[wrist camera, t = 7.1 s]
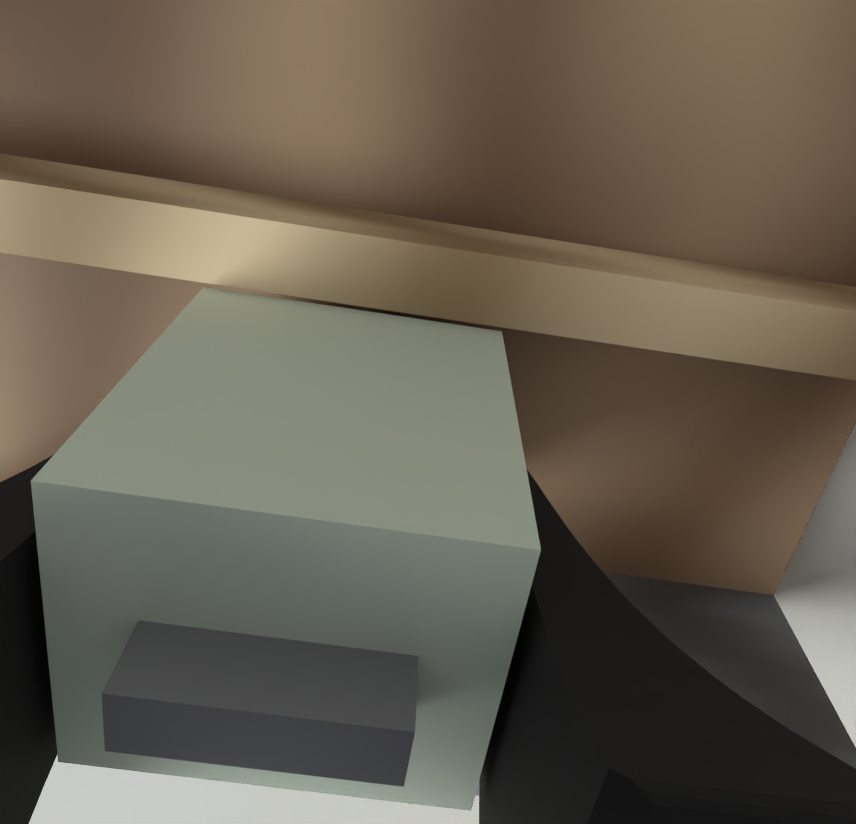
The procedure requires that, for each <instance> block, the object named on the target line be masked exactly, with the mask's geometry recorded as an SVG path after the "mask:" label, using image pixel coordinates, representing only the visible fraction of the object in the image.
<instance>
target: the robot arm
mask: <svg viewBox="0 0 856 824" xmlns="http://www.w3.org/2000/svg"><path fill="white" fill-rule="evenodd" d="M52 456H53V455H52ZM52 456H50V457H49V458H47V459H45V460H43V461H41V462H39V463H38V464H36V465H34V466H32V467H30V468H28V469H26V470H24V471H22V472H20V473H18V474H16V475H14V476H12V477H10V478H8V479H6V480H4V481H2V482H0V824H29V821H30V819H31V816H32V814H33V811H34V809H35V806H36V804H37V801H38V799H39V796H40V794H41V791H42V789H43V786H44V784H45V782H46V779H47V777H48V775H49V772H50V770H51V768H52V765H53V763H54V761H55V758H56V756H57V744H56V734H55V723H54V713H53V703H52V693H51V683H50V672H49V662H48V652H47V642H46V632H45V621H44V611H43V601H42V591H41V581H40V570H39V560H38V550H37V540H36V530H35V520H34V509H33V499H32V489H31V480H32V479H33V478H34V477H35V475H36V474H37V473H38V472H39V471H40V470H41V469H42V468H43V466H44V465H45V464H46V463H47V462H48V461H49V460H50V459H51V457H52ZM527 474H528V480H529V485H530V491H531V497H532V502H533V508H534V513H535V519H536V525H537V530H538V536H539V541H540V547H541V552H540V556H539V559H538V563H537V567H536V571H535V574H534V578H533V582H532V585H531V589H530V593H529V597H528V600H527V604H526V608H525V611H524V615H523V619H522V623H521V626H520V630H519V634H518V637H517V641H516V645H515V649H514V652H513V656H512V660H511V663H510V667H509V671H508V675H507V678H506V682H505V686H504V689H503V693H502V697H501V701H500V704H499V708H498V712H497V715H496V719H495V723H494V727H493V730H492V734H491V738H490V741H489V745H488V749H487V753H486V756H485V760H484V764H483V767H482V771H481V775H480V779H479V824H856V769H855V768H854V767H852V766H850V765H849V764H847V763H845V762H844V761H842V760H840V759H838V758H837V757H835V756H833V755H832V754H830V753H828V752H827V751H825V750H823V749H822V748H820V747H818V746H817V745H815V744H813V743H812V742H810V741H808V740H806V739H805V738H803V737H801V736H800V735H798V734H796V733H795V732H793V731H791V730H790V729H788V728H787V727H785V726H784V725H782V724H780V723H779V722H777V721H776V720H775V719H773V718H772V717H770V716H769V715H767V714H766V713H764V712H763V711H761V710H760V709H758V708H757V707H756V706H754V705H753V704H751V703H750V702H748V701H747V700H745V699H744V698H742V697H741V696H740V695H738V694H737V693H736V692H734V691H733V690H731V689H730V688H729V687H727V686H726V685H725V684H723V683H722V682H721V681H719V680H718V679H717V678H715V677H714V676H713V675H712V674H710V673H709V672H708V671H707V670H705V669H704V668H703V667H702V666H700V665H699V664H698V663H697V662H696V661H694V660H693V659H692V658H691V657H689V656H688V655H687V654H686V653H684V652H683V651H682V650H681V649H680V648H678V647H677V646H676V645H675V644H674V643H673V642H672V641H670V640H669V639H668V638H667V637H666V636H665V635H664V634H663V633H661V632H660V631H659V630H658V629H657V628H656V627H655V626H654V625H653V624H652V623H651V622H650V621H649V620H648V619H647V618H646V617H645V616H644V615H643V614H642V613H641V612H640V611H639V610H638V609H637V608H636V607H634V606H633V605H632V604H631V602H630V601H629V600H628V599H627V598H626V597H625V596H624V595H623V594H622V593H621V592H620V591H619V590H618V589H617V588H616V586H615V585H614V584H613V583H612V582H611V581H610V580H609V578H608V577H607V576H606V575H605V574H604V573H603V572H602V570H601V569H600V568H599V567H598V566H597V565H596V563H595V562H594V561H593V560H592V559H591V557H590V556H589V555H588V554H587V552H586V551H585V550H584V549H583V547H582V546H581V545H580V543H579V542H578V541H577V539H576V538H575V537H574V535H573V534H572V533H571V531H570V530H569V529H568V527H567V526H566V525H565V523H564V522H563V520H562V519H561V517H560V516H559V515H558V513H557V512H556V510H555V509H554V507H553V506H552V505H551V503H550V502H549V500H548V499H547V497H546V496H545V494H544V493H543V491H542V490H541V488H540V487H539V485H538V484H537V482H536V481H535V480H534V478H533V477H532V475H531V474H530V472H529V471H528V470H527Z"/></svg>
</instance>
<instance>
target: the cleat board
mask: <svg viewBox="0 0 856 824" xmlns="http://www.w3.org/2000/svg"><path fill="white" fill-rule="evenodd" d="M203 287H209V288H216V289H222V290H229V291H236V292H242V293H249V294H256V295H262V296H269V297H276V298H283V299H289V300H296V301H303V302H309V303H316V304H323V305H329V306H336V307H343V308H349V309H356V310H363V311H369V312H376V313H383V314H389V315H396V316H403V317H410V318H416V319H423V320H430V321H436V322H443V323H450V324H456V325H463V326H470V327H476V328H483V329H490V330H496V331H502V334H503V340H504V345H505V351H506V357H507V362H508V368H509V373H510V379H511V385H512V390H513V396H514V401H515V407H516V413H517V418H518V424H519V429H520V435H521V441H522V446H523V452H524V457H525V463H526V469H527V470H528V471H529V472H530V474H531V475H532V477H533V478H534V480H535V481H536V482H537V484H538V485H539V487H540V488H541V490H542V491H543V493H544V494H545V496H546V497H547V499H548V500H549V502H550V503H551V505H552V506H553V507H554V509H555V510H556V512H557V513H558V515H559V516H560V517H561V519H562V520H563V522H564V523H565V525H566V526H567V527H568V529H569V530H570V531H571V533H572V534H573V535H574V537H575V538H576V539H577V541H578V542H579V543H580V545H581V546H582V547H583V549H584V550H585V551H586V552H587V554H588V555H589V556H590V557H591V559H592V560H593V561H594V562H595V563H596V565H597V566H598V567H599V568H600V569H601V570H602V572H603V573H604V574H605V575H606V576H607V577H608V578H609V580H610V581H611V582H612V583H613V584H614V585H615V586H616V588H617V589H618V590H619V591H620V592H621V593H622V594H623V595H624V596H625V597H626V598H627V599H628V600H629V601H630V602H631V604H632V605H633V606H634V607H636V608H637V609H638V610H639V611H640V612H641V613H642V614H643V615H644V616H645V617H646V618H647V619H648V620H649V621H650V622H651V623H652V624H653V625H654V626H655V627H656V628H657V629H658V630H659V631H660V632H661V633H663V634H664V635H665V636H666V637H667V638H668V639H669V640H670V641H672V642H673V643H674V644H675V645H676V646H677V647H678V648H680V649H681V650H682V651H683V652H684V653H686V654H687V655H688V656H689V657H691V658H692V659H693V660H694V661H696V662H697V663H698V664H699V665H700V666H702V667H703V668H704V669H705V670H707V671H708V672H709V673H710V674H712V675H713V676H714V677H715V678H717V679H718V680H719V681H721V682H722V683H723V684H725V685H726V686H727V687H729V688H730V689H731V690H733V691H734V692H736V693H737V694H738V695H740V696H741V697H742V698H744V699H745V700H747V701H748V702H750V703H751V704H753V705H754V706H756V707H757V708H758V709H760V710H761V711H763V712H764V713H766V714H767V715H769V716H770V717H772V718H773V719H775V720H776V721H777V722H779V723H780V724H782V725H784V726H785V727H787V728H788V729H790V730H791V731H793V732H795V733H796V734H798V735H800V736H801V737H803V738H805V739H806V740H808V741H810V742H812V743H813V744H815V745H817V746H818V747H820V748H822V749H823V750H825V751H827V752H828V753H830V754H832V755H833V756H835V757H837V758H838V759H840V760H842V761H844V762H845V763H847V764H849V765H850V766H852V767H854V768H855V769H856V748H855V746H854V744H853V742H852V740H851V739H850V737H849V735H848V733H847V731H846V729H845V727H844V725H843V724H842V722H841V720H840V718H839V716H838V714H837V712H836V711H835V709H834V707H833V705H832V703H831V701H830V699H829V698H828V696H827V694H826V692H825V690H824V688H823V686H822V685H821V683H820V681H819V679H818V677H817V675H816V673H815V672H814V670H813V668H812V666H811V664H810V662H809V660H808V659H807V657H806V655H805V653H804V651H803V649H802V647H801V646H800V644H799V642H798V640H797V638H796V636H795V634H794V633H793V631H792V629H791V627H790V625H789V623H788V621H787V620H786V618H785V616H784V614H783V612H782V610H781V608H780V607H779V605H778V603H777V601H776V599H775V597H774V592H775V590H776V588H777V586H778V584H779V582H780V580H781V578H782V576H783V574H784V571H785V569H786V567H787V565H788V563H789V561H790V559H791V557H792V555H793V553H794V550H795V548H796V546H797V544H798V542H799V540H800V538H801V536H802V534H803V532H804V529H805V527H806V525H807V523H808V521H809V519H810V517H811V515H812V513H813V511H814V508H815V506H816V504H817V502H818V500H819V498H820V496H821V494H822V492H823V490H824V487H825V485H826V483H827V481H828V479H829V477H830V475H831V473H832V471H833V469H834V466H835V464H836V462H837V460H838V458H839V456H840V454H841V452H842V450H843V448H844V445H845V443H846V441H847V439H848V437H849V435H850V433H851V431H852V429H853V427H854V424H855V422H856V0H0V482H2V481H4V480H6V479H8V478H10V477H12V476H14V475H16V474H18V473H20V472H22V471H24V470H26V469H28V468H30V467H32V466H34V465H36V464H38V463H39V462H41V461H43V460H45V459H47V458H49V457H50V456H52V455H54V454H55V453H56V452H57V451H58V450H59V449H60V447H61V446H62V445H63V444H64V443H65V442H66V441H67V440H68V438H69V437H70V436H71V435H72V434H73V433H74V432H75V431H76V429H77V428H78V427H79V426H80V425H81V424H82V423H83V422H84V420H85V419H86V418H87V417H88V416H89V415H90V414H91V413H92V412H93V410H94V409H95V408H96V407H97V406H98V405H99V404H100V403H101V401H102V400H103V399H104V398H105V397H106V396H107V395H108V394H109V392H110V391H111V390H112V389H113V388H114V387H115V386H116V385H117V383H118V382H119V381H120V380H121V379H122V378H123V377H124V376H125V375H126V373H127V372H128V371H129V370H130V369H131V368H132V367H133V366H134V364H135V363H136V362H137V361H138V360H139V359H140V358H141V357H142V355H143V354H144V353H145V352H146V351H147V350H148V349H149V348H150V346H151V345H152V344H153V343H154V342H155V341H156V340H157V339H158V338H159V336H160V335H161V334H162V333H163V332H164V331H165V330H166V329H167V327H168V326H169V325H170V324H171V323H172V322H173V321H174V320H175V318H176V317H177V316H178V315H179V314H180V313H181V312H182V311H183V309H184V308H185V307H186V306H187V305H188V304H189V303H190V302H191V300H192V299H193V298H194V297H195V296H196V295H197V294H198V293H199V292H200V290H201V289H202V288H203ZM475 795H479V782H478V786H477V790H476V793H475Z"/></svg>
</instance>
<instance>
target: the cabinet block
mask: <svg viewBox="0 0 856 824" xmlns="http://www.w3.org/2000/svg"><path fill="white" fill-rule="evenodd" d="M31 489H32V499H33V509H34V520H35V530H36V540H37V550H38V560H39V570H40V581H41V591H42V601H43V611H44V621H45V632H46V642H47V652H48V662H49V672H50V683H51V693H52V703H53V713H54V723H55V734H56V744H57V754H58V762H64V763H73V764H81V765H90V766H98V767H107V768H115V769H124V770H132V771H141V772H149V773H157V774H166V775H174V776H183V777H191V778H200V779H208V780H217V781H225V782H234V783H242V784H251V785H259V786H268V787H276V788H285V789H293V790H302V791H310V792H319V793H327V794H336V795H344V796H352V797H361V798H369V799H378V800H386V801H395V802H403V803H412V804H420V805H429V806H437V807H446V808H454V809H463V810H471V808H472V805H473V801H474V797H475V793H476V790H477V786H478V782H479V779H480V775H481V771H482V767H483V764H484V760H485V756H486V753H487V749H488V745H489V741H490V738H491V734H492V730H493V727H494V723H495V719H496V715H497V712H498V708H499V704H500V701H501V697H502V693H503V689H504V686H505V682H506V678H507V675H508V671H509V667H510V663H511V660H512V656H513V652H514V649H515V645H516V641H517V637H518V634H519V630H520V626H521V623H522V619H523V615H524V611H525V608H526V604H527V600H528V597H529V593H530V589H531V585H532V582H533V578H534V574H535V571H536V567H537V563H538V559H539V556H540V552H541V547H540V541H539V536H538V530H537V525H536V519H535V513H534V508H533V502H532V497H531V491H530V485H529V480H528V474H527V469H526V463H525V457H524V452H523V446H522V441H521V435H520V429H519V424H518V418H517V413H516V407H515V401H514V396H513V390H512V385H511V379H510V373H509V368H508V362H507V357H506V351H505V345H504V340H503V334H502V331H496V330H490V329H483V328H476V327H470V326H463V325H456V324H450V323H443V322H436V321H430V320H423V319H416V318H410V317H403V316H396V315H389V314H383V313H376V312H369V311H363V310H356V309H349V308H343V307H336V306H329V305H323V304H316V303H309V302H303V301H296V300H289V299H283V298H276V297H269V296H262V295H256V294H249V293H242V292H236V291H229V290H222V289H216V288H209V287H203V288H202V289H201V290H200V292H199V293H198V294H197V295H196V296H195V297H194V298H193V299H192V300H191V302H190V303H189V304H188V305H187V306H186V307H185V308H184V309H183V311H182V312H181V313H180V314H179V315H178V316H177V317H176V318H175V320H174V321H173V322H172V323H171V324H170V325H169V326H168V327H167V329H166V330H165V331H164V332H163V333H162V334H161V335H160V336H159V338H158V339H157V340H156V341H155V342H154V343H153V344H152V345H151V346H150V348H149V349H148V350H147V351H146V352H145V353H144V354H143V355H142V357H141V358H140V359H139V360H138V361H137V362H136V363H135V364H134V366H133V367H132V368H131V369H130V370H129V371H128V372H127V373H126V375H125V376H124V377H123V378H122V379H121V380H120V381H119V382H118V383H117V385H116V386H115V387H114V388H113V389H112V390H111V391H110V392H109V394H108V395H107V396H106V397H105V398H104V399H103V400H102V401H101V403H100V404H99V405H98V406H97V407H96V408H95V409H94V410H93V412H92V413H91V414H90V415H89V416H88V417H87V418H86V419H85V420H84V422H83V423H82V424H81V425H80V426H79V427H78V428H77V429H76V431H75V432H74V433H73V434H72V435H71V436H70V437H69V438H68V440H67V441H66V442H65V443H64V444H63V445H62V446H61V447H60V449H59V450H58V451H57V452H56V453H55V454H54V455H53V456H52V457H51V459H50V460H49V461H48V462H47V463H46V464H45V465H44V466H43V468H42V469H41V470H40V471H39V472H38V473H37V474H36V475H35V477H34V478H33V479H32V480H31Z"/></svg>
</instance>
